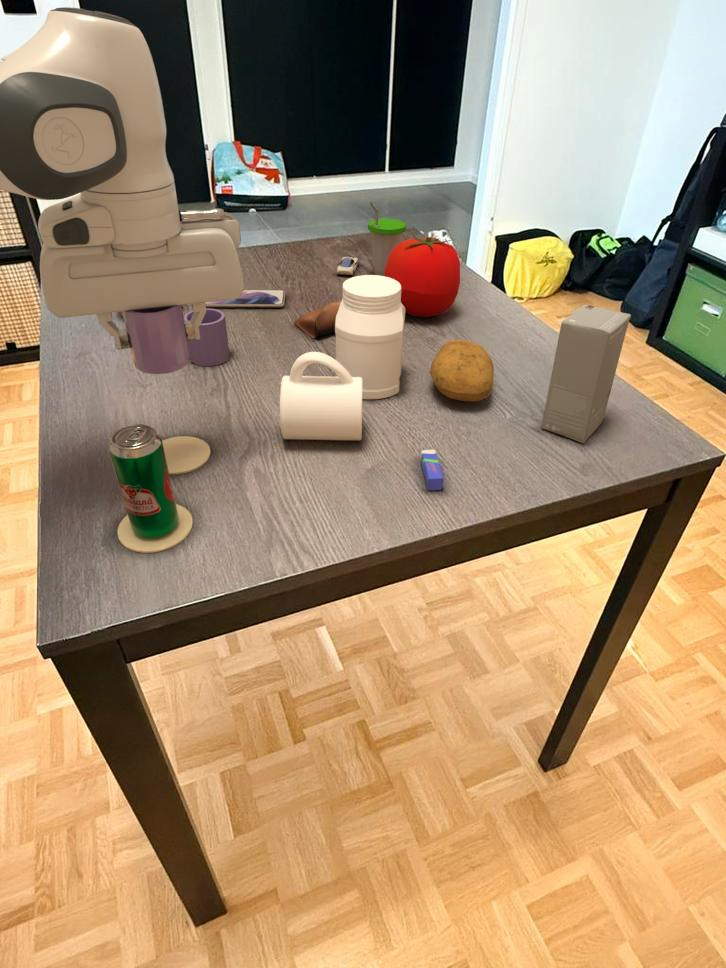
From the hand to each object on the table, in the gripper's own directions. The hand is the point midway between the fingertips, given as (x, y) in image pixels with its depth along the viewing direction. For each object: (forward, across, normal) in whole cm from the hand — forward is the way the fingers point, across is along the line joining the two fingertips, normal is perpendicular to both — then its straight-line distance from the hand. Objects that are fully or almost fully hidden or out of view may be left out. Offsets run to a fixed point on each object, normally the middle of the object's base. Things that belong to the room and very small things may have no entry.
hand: (158, 342), depth 70 cm
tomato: (+15, -48, -33) cm, 61 cm away
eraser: (+16, -29, +14) cm, 36 cm away
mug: (+16, -19, +1) cm, 24 cm away
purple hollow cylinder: (+15, -8, -26) cm, 31 cm away
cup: (+15, -49, -53) cm, 73 cm away
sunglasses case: (+16, -33, -33) cm, 49 cm away
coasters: (+15, +2, +7) cm, 17 cm away
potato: (+15, -42, -4) cm, 45 cm away
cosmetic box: (+15, -53, +9) cm, 56 cm away
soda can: (+15, +4, +14) cm, 21 cm away
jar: (+15, -30, -11) cm, 35 cm away
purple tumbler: (+2, 0, 0) cm, 2 cm away
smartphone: (+15, -18, -47) cm, 52 cm away
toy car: (+15, -43, -59) cm, 74 cm away
